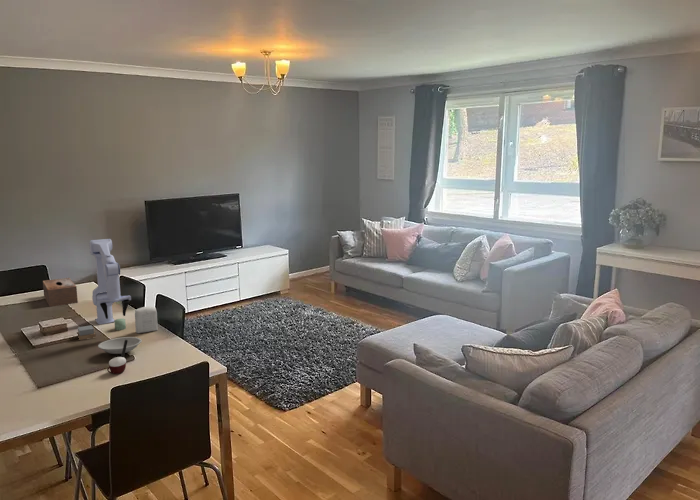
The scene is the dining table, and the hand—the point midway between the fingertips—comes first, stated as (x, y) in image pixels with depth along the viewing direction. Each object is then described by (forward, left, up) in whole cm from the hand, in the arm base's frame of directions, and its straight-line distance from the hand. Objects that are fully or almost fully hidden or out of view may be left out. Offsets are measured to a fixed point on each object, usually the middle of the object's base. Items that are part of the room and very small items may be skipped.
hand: (115, 316), depth 252 cm
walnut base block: (-8, -12, -11) cm, 18 cm away
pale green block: (-12, +4, -10) cm, 16 cm away
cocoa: (+43, -8, -10) cm, 45 cm away
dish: (+23, -3, -10) cm, 25 cm away
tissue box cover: (-86, -14, -11) cm, 88 cm away
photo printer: (-1, +14, -10) cm, 17 cm away
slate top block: (-8, -12, -8) cm, 17 cm away
